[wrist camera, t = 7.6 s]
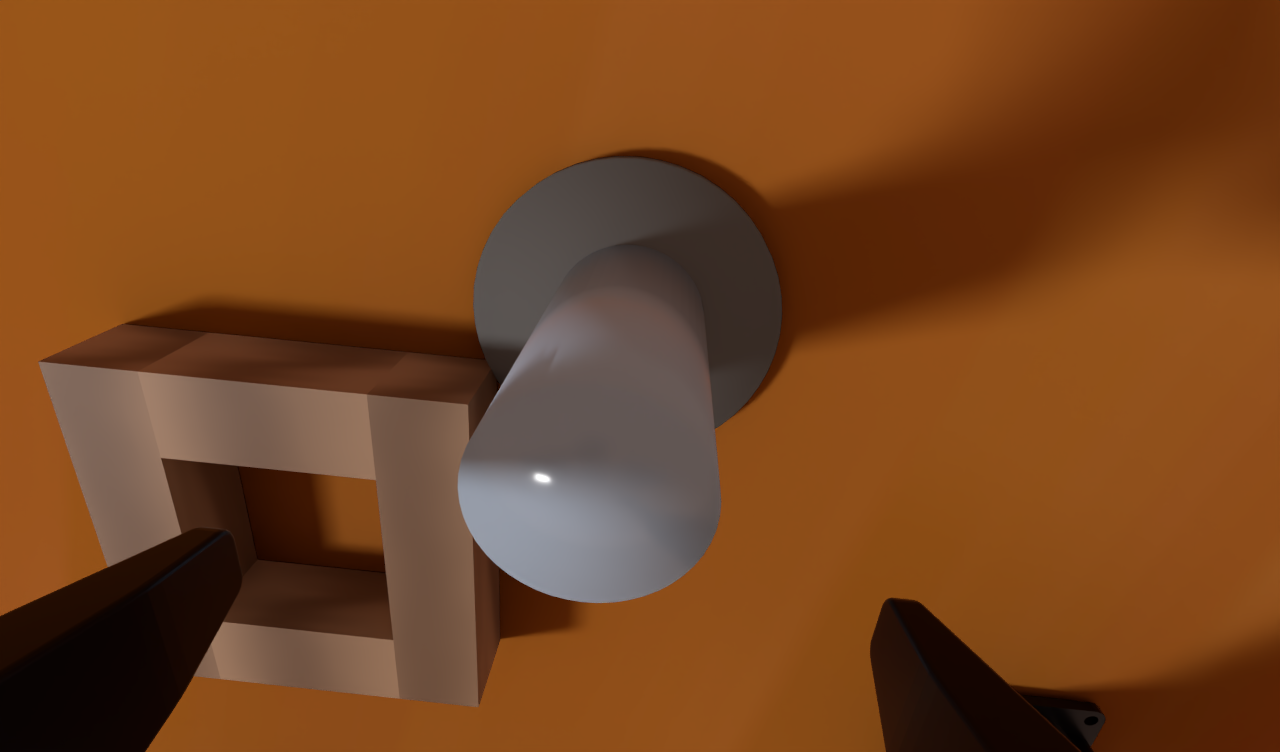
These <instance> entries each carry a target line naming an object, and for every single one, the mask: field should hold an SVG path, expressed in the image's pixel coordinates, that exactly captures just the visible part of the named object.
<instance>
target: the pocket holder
mask: <svg viewBox="0 0 1280 752" xmlns="http://www.w3.org/2000/svg"><path fill="white" fill-rule="evenodd" d="M39 365H40V368H41V371H42V374H43V377H44V380H45V383H46V386H47V389H48V392H49V395H50V398H51V401H52V403H53V406H54V409H55V412H56V415H57V418H58V421H59V424H60V427H61V430H62V433H63V436H64V439H65V442H66V445H67V448H68V451H69V454H70V457H71V460H72V462H73V465H74V468H75V471H76V474H77V477H78V480H79V483H80V486H81V489H82V492H83V495H84V498H85V501H86V504H87V507H88V510H89V513H90V516H91V518H92V521H93V524H94V527H95V530H96V533H97V536H98V539H99V542H100V545H101V548H102V551H103V554H104V557H105V560H106V563H107V566H108V567H110V566H112V565H114V564H116V563H118V562H121V561H123V560H125V559H127V558H129V557H132V556H134V555H136V554H138V553H140V552H143V551H145V550H147V549H149V548H151V547H154V546H156V545H158V544H160V543H162V542H165V541H167V540H169V539H171V538H174V537H176V536H178V535H180V534H182V533H185V532H187V531H189V530H191V529H194V528H197V527H210V528H220V529H226V530H228V531H230V532H231V533H232V535H233V537H234V540H235V544H236V548H237V553H238V557H239V561H240V566H241V570H242V586H241V589H240V592H239V594H238V596H237V598H236V600H235V601H234V603H233V605H232V607H231V609H230V611H229V612H228V614H227V616H226V618H225V620H224V621H223V623H222V625H221V627H220V629H219V631H218V632H217V634H216V636H215V638H214V640H213V642H212V643H211V645H210V647H209V649H208V651H207V653H206V654H205V656H204V658H203V660H202V662H201V664H200V665H199V667H198V669H197V671H196V673H195V675H194V676H198V677H207V678H216V679H226V680H235V681H244V682H253V683H262V684H271V685H281V686H290V687H299V688H308V689H317V690H326V691H336V692H345V693H354V694H363V695H372V696H381V697H390V698H400V699H409V700H418V701H427V702H436V703H445V704H455V705H464V706H473V707H479V704H480V701H481V698H482V695H483V691H484V688H485V685H486V682H487V679H488V676H489V673H490V670H491V667H492V664H493V660H494V657H495V654H496V651H497V648H498V645H499V642H500V593H499V566H497V565H496V564H495V563H494V562H493V561H492V560H491V559H490V558H489V557H488V556H487V555H486V554H485V553H484V551H483V550H482V549H481V547H480V546H479V545H478V544H477V542H476V541H475V539H474V537H473V536H472V534H471V532H470V531H469V529H468V526H467V524H466V522H465V519H464V517H463V514H462V510H461V507H460V503H459V495H458V473H459V468H460V463H461V459H462V456H463V453H464V451H465V448H466V446H467V444H468V442H469V440H470V439H471V437H472V435H473V433H474V432H475V430H476V428H477V426H478V425H479V423H480V421H481V420H482V418H483V416H484V414H485V413H486V411H487V409H488V408H489V406H490V404H491V402H492V401H493V399H494V397H495V396H496V394H497V379H496V377H495V376H494V374H493V372H492V370H491V368H490V366H489V365H488V363H487V361H486V360H483V359H473V358H463V357H452V356H442V355H432V354H422V353H412V352H402V351H392V350H381V349H371V348H361V347H351V346H341V345H331V344H321V343H311V342H300V341H290V340H280V339H270V338H260V337H250V336H240V335H229V334H219V333H209V332H199V331H189V330H179V329H169V328H159V327H148V326H138V325H128V324H121V325H119V326H117V327H115V328H112V329H110V330H108V331H106V332H103V333H101V334H99V335H97V336H95V337H92V338H90V339H88V340H86V341H83V342H81V343H79V344H77V345H74V346H72V347H70V348H68V349H65V350H63V351H61V352H59V353H57V354H54V355H52V356H50V357H48V358H45V359H43V360H41V361H39ZM238 466H245V467H255V468H265V469H274V470H284V471H294V472H303V473H313V474H323V475H333V476H342V477H352V478H362V479H372V480H376V485H377V494H378V504H379V513H380V522H381V531H382V540H383V550H384V559H385V568H386V573H379V572H370V571H360V570H351V569H341V568H332V567H322V566H313V565H303V564H294V563H284V562H275V561H265V560H257V555H256V550H255V545H254V541H253V536H252V531H251V527H250V522H249V517H248V513H247V508H246V503H245V499H244V494H243V489H242V485H241V480H240V475H239V470H238Z"/></svg>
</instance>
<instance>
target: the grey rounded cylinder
mask: <svg viewBox="0 0 1280 752" xmlns="http://www.w3.org/2000/svg"><path fill="white" fill-rule="evenodd" d="M458 495H459V503H460V507H461V510H462V514H463V517H464V519H465V522H466V524H467V526H468V529H469V531H470V532H471V534H472V536H473V537H474V539H475V541H476V542H477V544H478V545H479V546H480V547H481V549H482V550H483V551H484V553H485V554H486V555H487V556H488V557H489V558H490V559H491V560H492V561H493V562H494V563H495V564H496V565H497V566H499V567H500V568H501V569H502V570H504V571H505V572H506V573H507V574H509V575H510V576H512V577H513V578H515V579H516V580H518V581H520V582H521V583H523V584H525V585H527V586H529V587H531V588H533V589H535V590H538V591H540V592H543V593H546V594H548V595H551V596H555V597H559V598H563V599H566V600H573V601H579V602H591V603H607V602H619V601H625V600H631V599H635V598H639V597H642V596H646V595H648V594H651V593H653V592H656V591H659V590H660V589H662V588H664V587H666V586H668V585H670V584H672V583H673V582H675V581H676V580H678V579H679V578H680V577H682V576H683V575H685V574H686V573H687V572H688V571H689V570H690V569H691V568H692V567H693V566H694V565H695V564H696V563H697V562H698V561H699V559H700V558H701V557H702V556H703V555H704V553H705V551H706V550H707V548H708V547H709V545H710V543H711V541H712V539H713V537H714V534H715V532H716V529H717V525H718V521H719V517H720V508H721V493H720V481H719V470H718V459H717V449H716V438H715V427H714V416H713V405H712V394H711V384H710V373H709V362H708V351H707V340H706V330H705V319H704V308H703V304H702V299H701V296H700V293H699V291H698V289H697V287H696V285H695V283H694V281H693V280H692V278H691V277H690V275H689V274H688V273H687V272H686V271H685V270H684V269H683V267H682V266H681V265H679V264H678V263H677V262H676V261H674V260H673V259H672V258H670V257H668V256H667V255H665V254H663V253H661V252H659V251H657V250H654V249H651V248H647V247H643V246H637V245H616V246H611V247H606V248H603V249H600V250H598V251H595V252H593V253H591V254H589V255H587V256H586V257H584V258H583V259H582V260H580V261H579V262H578V263H577V264H576V265H575V266H574V267H573V268H571V270H570V271H569V272H568V273H567V275H566V276H565V278H564V279H563V281H562V283H561V284H560V286H559V288H558V290H557V291H556V293H555V295H554V296H553V298H552V300H551V302H550V303H549V305H548V307H547V308H546V310H545V312H544V314H543V315H542V317H541V319H540V320H539V322H538V324H537V325H536V327H535V329H534V331H533V332H532V334H531V336H530V337H529V339H528V341H527V343H526V344H525V346H524V348H523V349H522V351H521V353H520V355H519V356H518V358H517V360H516V361H515V363H514V365H513V367H512V368H511V370H510V372H509V373H508V375H507V377H506V379H505V380H504V382H503V384H502V385H501V387H500V389H499V391H498V392H497V394H496V396H495V397H494V399H493V401H492V402H491V404H490V406H489V408H488V409H487V411H486V413H485V414H484V416H483V418H482V420H481V421H480V423H479V425H478V426H477V428H476V430H475V432H474V433H473V435H472V437H471V439H470V440H469V442H468V444H467V446H466V448H465V451H464V453H463V456H462V459H461V463H460V468H459V473H458Z"/></svg>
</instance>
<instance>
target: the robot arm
mask: <svg viewBox="0 0 1280 752" xmlns="http://www.w3.org/2000/svg"><path fill="white" fill-rule="evenodd" d="M241 586H242V570H241V566H240V561H239V557H238V553H237V548H236V544H235V540H234V537H233V535H232V533H231V532H230V531H228V530H226V529H220V528H210V527H197V528H194V529H191V530H189V531H187V532H185V533H182V534H180V535H178V536H176V537H174V538H171V539H169V540H167V541H165V542H162V543H160V544H158V545H156V546H154V547H151V548H149V549H147V550H145V551H143V552H140V553H138V554H136V555H134V556H132V557H129V558H127V559H125V560H123V561H121V562H118V563H116V564H114V565H112V566H110V567H107V568H105V569H103V570H101V571H98V572H96V573H94V574H92V575H90V576H87V577H85V578H83V579H81V580H79V581H76V582H74V583H72V584H70V585H68V586H65V587H63V588H61V589H59V590H57V591H54V592H52V593H50V594H48V595H46V596H43V597H41V598H39V599H37V600H34V601H32V602H30V603H28V604H26V605H23V606H21V607H19V608H17V609H15V610H12V611H10V612H8V613H6V614H4V615H1V616H0V752H145V751H146V750H147V748H148V747H149V745H150V744H151V742H152V741H153V739H154V738H155V736H156V735H157V734H158V732H159V731H160V729H161V728H162V726H163V725H164V723H165V722H166V720H167V719H168V717H169V716H170V714H171V713H172V711H173V710H174V708H175V706H176V705H177V703H178V702H179V700H180V699H181V697H182V695H183V694H184V692H185V690H186V689H187V687H188V685H189V683H190V682H191V680H192V678H193V676H194V675H195V673H196V671H197V669H198V667H199V665H200V664H201V662H202V660H203V658H204V656H205V654H206V653H207V651H208V649H209V647H210V645H211V643H212V642H213V640H214V638H215V636H216V634H217V632H218V631H219V629H220V627H221V625H222V623H223V621H224V620H225V618H226V616H227V614H228V612H229V611H230V609H231V607H232V605H233V603H234V601H235V600H236V598H237V596H238V594H239V592H240V589H241ZM870 658H871V665H872V671H873V677H874V683H875V689H876V695H877V701H878V707H879V713H880V719H881V725H882V731H883V737H884V742H885V748H886V752H1094V751H1093V750H1092V748H1091V745H1092V744H1093V742H1094V740H1095V738H1096V737H1097V735H1098V733H1099V731H1100V730H1101V728H1102V726H1103V724H1104V722H1105V716H1104V714H1103V713H1102V711H1101V710H1100V708H1099V707H1098V706H1097V705H1096V704H1094V703H1090V702H1080V701H1071V700H1062V699H1052V698H1043V697H1034V696H1024V695H1020V694H1018V693H1017V692H1016V691H1015V690H1014V689H1013V688H1012V687H1011V686H1010V685H1009V684H1008V683H1007V682H1006V681H1004V680H1003V679H1002V678H1001V677H1000V676H999V675H998V674H997V673H996V672H995V671H994V670H993V669H992V668H990V667H989V666H988V665H987V664H986V663H985V662H984V661H983V660H982V659H981V658H980V657H979V656H977V655H976V654H975V653H974V652H973V651H972V650H971V649H970V648H969V647H968V646H967V645H966V644H965V643H963V642H962V641H961V640H960V639H959V638H958V637H957V636H956V635H955V634H954V633H953V632H952V631H950V630H949V629H948V628H947V627H946V626H945V625H944V624H943V623H942V622H941V621H940V620H939V619H938V618H936V617H935V616H934V615H933V614H932V613H931V612H930V611H929V610H928V609H927V608H926V607H925V606H924V605H922V604H921V603H920V602H918V601H915V600H909V599H900V598H889V599H887V600H886V601H885V602H884V603H883V606H882V608H881V612H880V615H879V618H878V621H877V624H876V627H875V630H874V633H873V637H872V640H871V645H870Z"/></svg>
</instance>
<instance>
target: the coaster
mask: <svg viewBox="0 0 1280 752" xmlns="http://www.w3.org/2000/svg"><path fill="white" fill-rule="evenodd" d="M616 245H637V246H643V247H647V248H651V249H654V250H657V251H659V252H661V253H663V254H665V255H667V256H668V257H670V258H672V259H673V260H674V261H676V262H677V263H678V264H679V265H681V266H682V267H683V269H684V270H685V271H686V272H687V273H688V274H689V275H690V277H691V278H692V280H693V281H694V283H695V285H696V287H697V289H698V291H699V293H700V296H701V299H702V304H703V308H704V319H705V330H706V340H707V351H708V362H709V373H710V384H711V394H712V405H713V416H714V427H715V428H717V427H719V426H720V425H722V424H723V423H724V422H725V421H727V420H728V419H729V418H731V417H732V416H733V415H734V414H735V413H736V412H737V411H738V410H739V409H740V408H741V407H742V406H743V405H744V404H745V403H746V402H747V401H748V400H749V399H750V398H751V396H752V395H753V394H754V392H755V391H756V390H757V388H758V387H759V386H760V384H761V382H762V380H763V379H764V377H765V375H766V373H767V372H768V370H769V367H770V365H771V362H772V360H773V357H774V355H775V352H776V348H777V344H778V340H779V336H780V330H781V321H782V296H781V290H780V284H779V278H778V274H777V271H776V268H775V265H774V262H773V259H772V256H771V254H770V252H769V250H768V248H767V246H766V243H765V241H764V239H763V237H762V235H761V233H760V232H759V230H758V229H757V227H756V226H755V224H754V223H753V221H752V220H751V218H750V217H749V216H748V214H747V213H746V212H745V211H744V210H743V209H742V208H741V207H740V205H739V204H738V203H737V202H736V201H735V200H734V199H733V198H732V197H730V196H729V195H728V194H727V193H726V192H725V191H723V190H722V189H721V188H720V187H718V186H717V185H715V184H714V183H712V182H711V181H709V180H708V179H706V178H704V177H703V176H701V175H699V174H697V173H695V172H693V171H691V170H688V169H686V168H684V167H682V166H679V165H675V164H672V163H669V162H666V161H662V160H657V159H651V158H645V157H635V156H614V157H606V158H597V159H593V160H589V161H585V162H581V163H578V164H575V165H572V166H570V167H567V168H565V169H563V170H560V171H558V172H556V173H554V174H552V175H551V176H549V177H547V178H546V179H544V180H542V181H541V182H539V183H538V184H536V185H535V186H534V187H532V188H531V189H530V190H529V191H527V192H526V193H525V194H524V195H522V196H521V197H520V198H519V199H518V200H517V201H516V202H515V203H514V204H513V205H512V206H511V207H510V208H509V209H508V210H507V211H506V213H505V214H504V215H503V216H502V218H501V219H500V221H499V222H498V224H497V225H496V226H495V228H494V229H493V231H492V233H491V235H490V237H489V239H488V241H487V243H486V245H485V247H484V249H483V252H482V255H481V258H480V261H479V264H478V267H477V273H476V278H475V284H474V302H473V307H474V317H475V325H476V330H477V334H478V338H479V342H480V345H481V348H482V350H483V353H484V356H485V358H486V361H487V363H488V365H489V366H490V368H491V370H492V372H493V374H494V376H495V377H496V379H497V380H498V382H499V383H500V385H502V384H503V382H504V380H505V379H506V377H507V375H508V373H509V372H510V370H511V368H512V367H513V365H514V363H515V361H516V360H517V358H518V356H519V355H520V353H521V351H522V349H523V348H524V346H525V344H526V343H527V341H528V339H529V337H530V336H531V334H532V332H533V331H534V329H535V327H536V325H537V324H538V322H539V320H540V319H541V317H542V315H543V314H544V312H545V310H546V308H547V307H548V305H549V303H550V302H551V300H552V298H553V296H554V295H555V293H556V291H557V290H558V288H559V286H560V284H561V283H562V281H563V279H564V278H565V276H566V275H567V273H568V272H569V271H570V270H571V268H573V267H574V266H575V265H576V264H577V263H578V262H579V261H580V260H582V259H583V258H584V257H586V256H587V255H589V254H591V253H593V252H595V251H598V250H600V249H603V248H606V247H611V246H616Z"/></svg>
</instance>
